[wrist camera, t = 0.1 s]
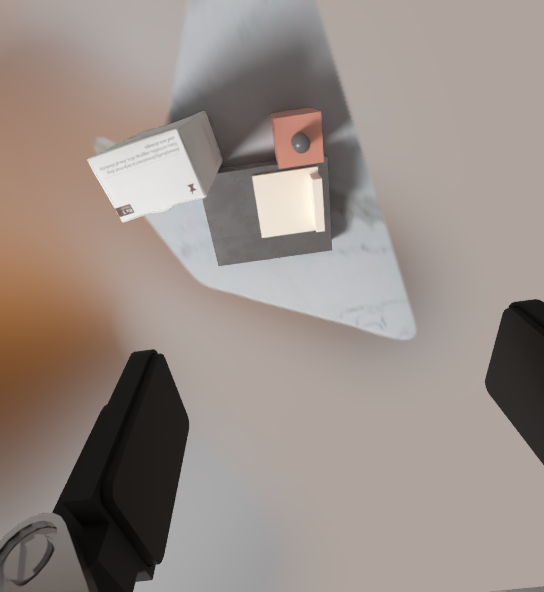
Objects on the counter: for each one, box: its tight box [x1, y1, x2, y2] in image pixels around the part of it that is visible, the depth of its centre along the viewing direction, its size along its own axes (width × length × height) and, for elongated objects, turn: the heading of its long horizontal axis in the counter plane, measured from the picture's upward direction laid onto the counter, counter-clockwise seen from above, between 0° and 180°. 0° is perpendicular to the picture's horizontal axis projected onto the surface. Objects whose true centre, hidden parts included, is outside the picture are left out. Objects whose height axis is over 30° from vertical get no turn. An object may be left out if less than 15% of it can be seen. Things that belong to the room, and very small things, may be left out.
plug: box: [270, 107, 324, 169], centre depth 36 cm, size 4×4×10 cm
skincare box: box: [87, 111, 223, 222], centre depth 34 cm, size 8×6×15 cm
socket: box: [203, 153, 332, 266], centre depth 43 cm, size 12×15×3 cm
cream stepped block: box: [252, 166, 325, 238], centre depth 40 cm, size 8×8×3 cm
